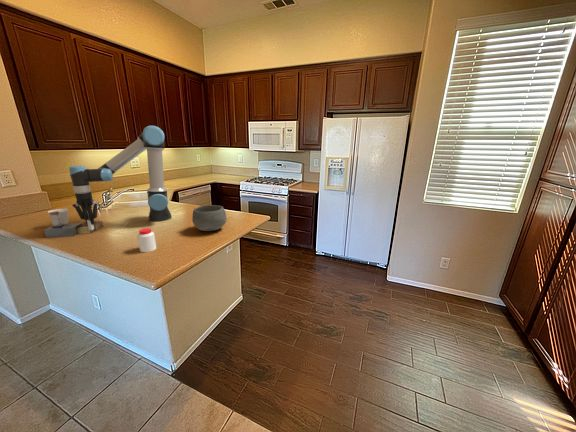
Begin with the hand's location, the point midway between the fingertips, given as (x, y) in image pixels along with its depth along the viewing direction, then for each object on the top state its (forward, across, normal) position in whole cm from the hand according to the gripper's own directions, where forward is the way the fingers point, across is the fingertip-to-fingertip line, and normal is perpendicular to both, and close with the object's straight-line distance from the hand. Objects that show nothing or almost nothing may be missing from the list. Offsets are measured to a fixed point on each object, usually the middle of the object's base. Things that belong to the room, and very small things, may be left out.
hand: (91, 229), depth 148 cm
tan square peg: (+2, +6, 0) cm, 7 cm away
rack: (+2, +4, -7) cm, 8 cm away
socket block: (+2, +14, 0) cm, 14 cm away
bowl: (+2, -72, +8) cm, 72 cm away
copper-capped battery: (+2, +17, 0) cm, 17 cm away
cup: (+2, +25, -16) cm, 30 cm away
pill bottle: (+2, -42, +33) cm, 53 cm away
